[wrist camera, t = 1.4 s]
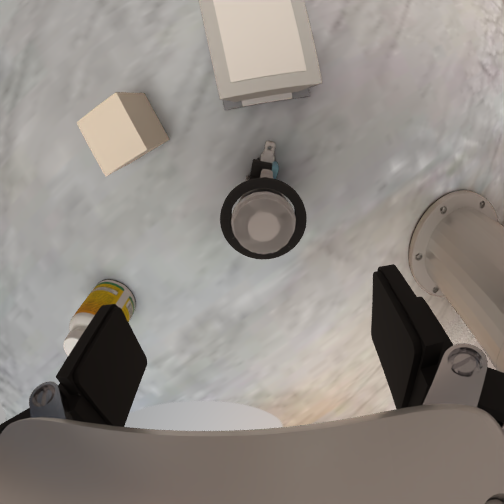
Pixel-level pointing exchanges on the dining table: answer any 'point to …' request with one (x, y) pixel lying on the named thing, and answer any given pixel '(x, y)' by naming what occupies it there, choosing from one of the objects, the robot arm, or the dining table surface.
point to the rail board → (260, 50)
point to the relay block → (122, 130)
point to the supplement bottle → (99, 296)
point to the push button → (263, 212)
